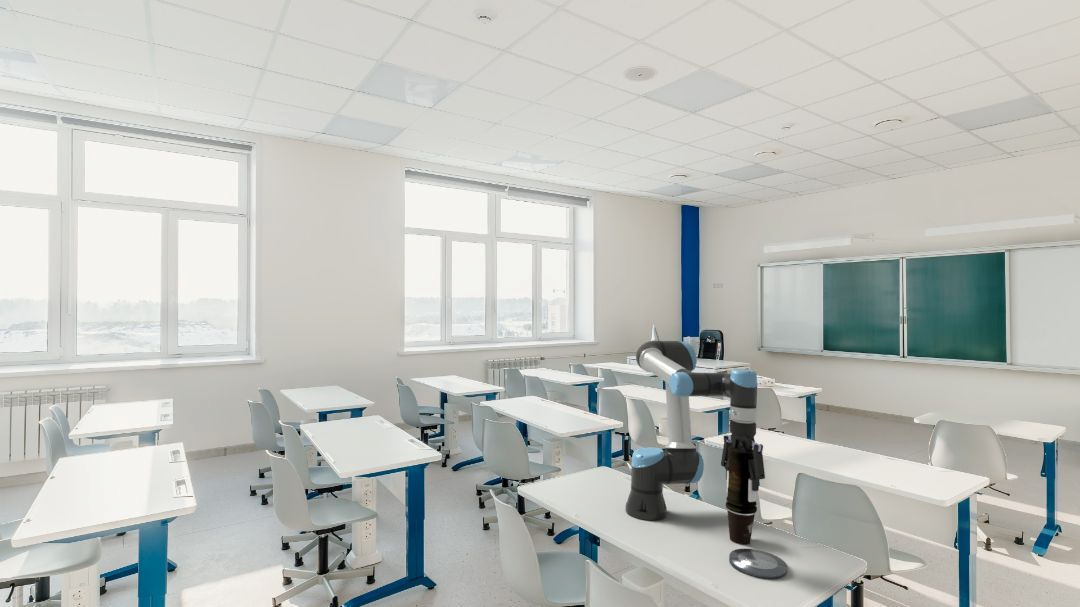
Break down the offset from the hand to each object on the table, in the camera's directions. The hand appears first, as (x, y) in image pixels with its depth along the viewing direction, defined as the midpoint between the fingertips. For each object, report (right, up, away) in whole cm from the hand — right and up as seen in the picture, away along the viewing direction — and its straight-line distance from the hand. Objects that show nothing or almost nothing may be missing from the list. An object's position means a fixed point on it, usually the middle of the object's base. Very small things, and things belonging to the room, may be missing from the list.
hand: (741, 496), depth 158 cm
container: (0, -4, 0) cm, 4 cm away
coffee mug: (+7, -21, +16) cm, 27 cm away
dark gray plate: (+4, -20, -2) cm, 21 cm away
